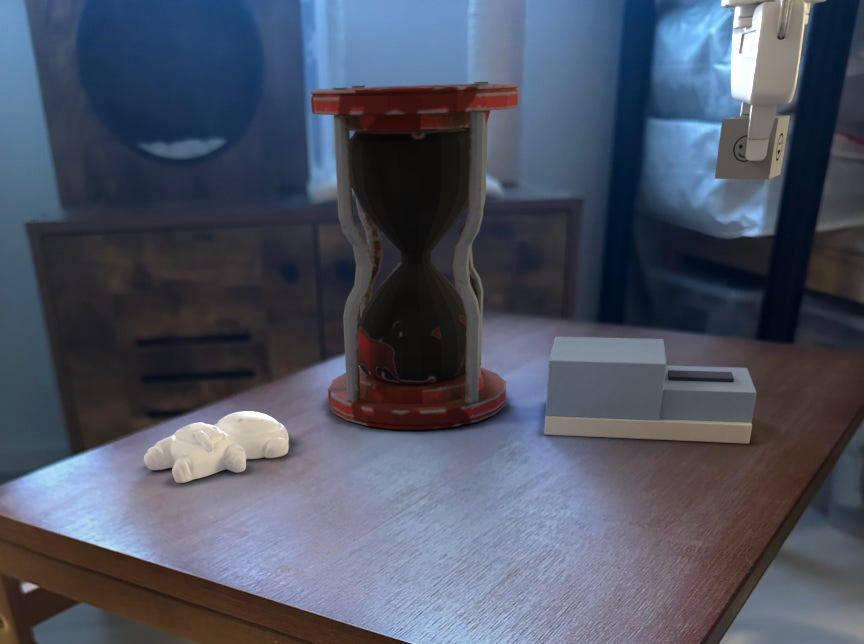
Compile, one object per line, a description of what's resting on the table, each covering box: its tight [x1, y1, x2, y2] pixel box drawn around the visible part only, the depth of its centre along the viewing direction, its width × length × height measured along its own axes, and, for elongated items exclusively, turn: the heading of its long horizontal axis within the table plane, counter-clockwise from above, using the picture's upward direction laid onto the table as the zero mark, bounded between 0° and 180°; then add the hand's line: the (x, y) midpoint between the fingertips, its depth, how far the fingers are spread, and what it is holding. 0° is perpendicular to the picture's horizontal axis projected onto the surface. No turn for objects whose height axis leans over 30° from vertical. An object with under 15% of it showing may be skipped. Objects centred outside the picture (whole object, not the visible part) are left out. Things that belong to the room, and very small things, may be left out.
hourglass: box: [310, 81, 519, 431], centre depth 79 cm, size 16×16×25 cm
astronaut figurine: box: [143, 410, 290, 484], centre depth 74 cm, size 9×12×3 cm
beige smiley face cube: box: [714, 115, 791, 180], centre depth 90 cm, size 5×5×5 cm
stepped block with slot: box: [543, 336, 758, 445], centre depth 78 cm, size 16×8×6 cm, turn 77°
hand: (750, 157), depth 90 cm, fingers closed on beige smiley face cube, 5 cm apart
